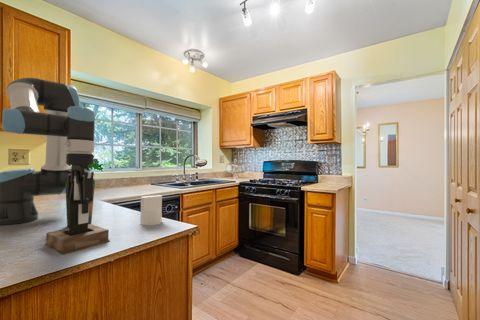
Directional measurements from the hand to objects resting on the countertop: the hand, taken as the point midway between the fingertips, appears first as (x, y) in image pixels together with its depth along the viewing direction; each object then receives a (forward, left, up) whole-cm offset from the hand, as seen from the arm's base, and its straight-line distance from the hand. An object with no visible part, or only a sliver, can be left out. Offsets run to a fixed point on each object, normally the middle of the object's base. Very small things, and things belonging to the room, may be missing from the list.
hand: (78, 221), depth 75 cm
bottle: (-23, +10, -7) cm, 26 cm away
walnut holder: (0, 0, -7) cm, 7 cm away
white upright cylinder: (-2, +30, -8) cm, 31 cm away
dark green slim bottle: (0, 0, -6) cm, 6 cm away
